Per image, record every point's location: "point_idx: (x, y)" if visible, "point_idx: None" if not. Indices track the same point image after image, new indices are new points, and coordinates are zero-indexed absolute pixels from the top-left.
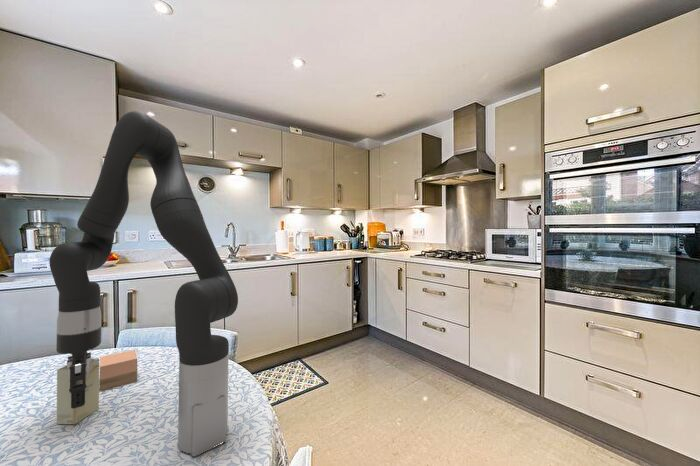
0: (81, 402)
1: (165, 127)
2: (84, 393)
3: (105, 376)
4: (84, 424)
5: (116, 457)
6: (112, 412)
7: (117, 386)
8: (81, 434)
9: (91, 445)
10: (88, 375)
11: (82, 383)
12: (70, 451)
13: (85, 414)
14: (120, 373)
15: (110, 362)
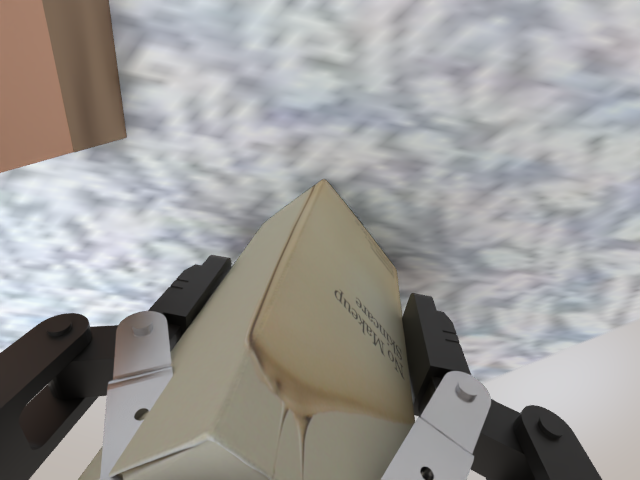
0: (453, 327)
1: None
2: (443, 344)
3: (53, 123)
4: (425, 243)
5: None
6: (424, 137)
7: (113, 47)
8: (500, 264)
9: (633, 256)
10: (458, 445)
11: (385, 385)
12: (586, 305)
13: (370, 239)
14: (35, 17)
15: None
